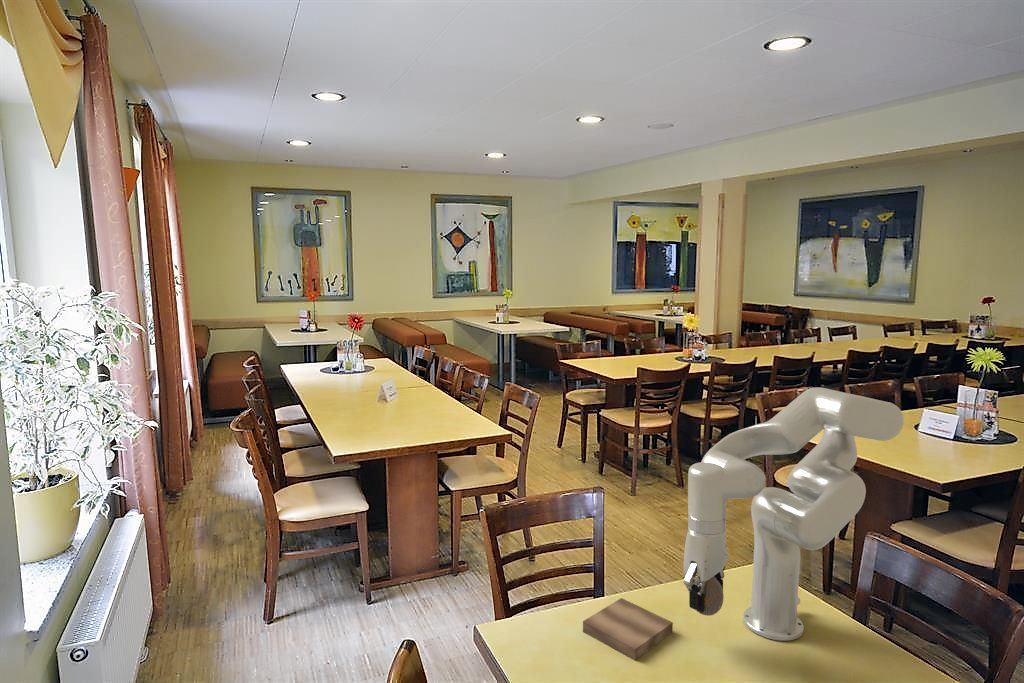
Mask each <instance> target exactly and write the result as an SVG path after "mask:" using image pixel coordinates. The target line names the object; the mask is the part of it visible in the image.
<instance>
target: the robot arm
mask: <svg viewBox="0 0 1024 683" xmlns="http://www.w3.org/2000/svg"><path fill="white" fill-rule="evenodd" d="M904 423H905V420H904V415H903V412H902V410H901V408H900V407H898V406H897V405H896V404H894V403H893V402H888V401H884V400H879V399H875V398H871V397H866V396H862V395H857V394H852V393H848V392H843V391H838V390H834V389H830V388H827V387H826V388H825V387H819V386H818V387H817V386H816V387H810V388H808V389H806V390H804V391H803V392H802V393H800V395H798V396H797V397H796V398H794V399H793V400H792V401H791V402H790V403H789V404H787V405H786V406H785V407H784V408H783V409H781V410H780V411H779V412H778V413H777V414H775V415H774V416H773V417H771V418H770V419H768V420H767V421H766V422H762V423H757V424H754V425H751V426H748V427H745V428H742V429H739V430H736V431H734V432H731V433H729V434H727V435H726V436H724V437H723V438H721V439H720V441H718V442H717V443H716V444H714V445H713V446H712V447H711V448H710V449H709V450H708V451H707V452H706V453H705V454H704V456H703V457H702V459H701V462H696V463H694V464H692V465H690V467H689V469H688V471H687V472H688V474H687V528H688V531H687V534H686V537H685V544H684V552H683V553H684V555H683V574H684V579H683V585H685V587H686V588H687V591H688V593H689V598H688V599H689V607H690V609H693V610H694V611H696V610H697V611H699V612H704V603H705V594H703V589H704V585H705V581H707V580H709V579H710V578H712V577H713V576H714V577H715V578H716V579H717V580H718V581H719V583H720V584H721V587H722V590H723V591H724V578H725V573H724V571H725V569H726V566H727V565H726V564H727V560H728V557H729V554H728V553H727V537H726V536H727V535H726V532H727V526H726V525H727V524H726V523H727V520H726V519H727V518H726V517H727V500H737V499H738V500H740V499H741V500H742V499H744V500H745V499H751V498H752V501H751V506H750V509H751V511H750V512H751V521H752V526H753V535H754V538H753V540H754V541H753V542H754V543H753V545H754V546H753V562H752V565H753V566H752V583H751V603H750V604H751V605H750V607H748V608H747V609H745V611H744V612H743V617H742V619H743V622H744V625H745V626H746V627H747V628H748V629H749V630H750V631H752V632H753V633H755V634H757V636H760V637H763V638H766V639H770V640H775V641H783V642H785V641H786V642H787V641H793V640H796V639H799V638H800V637H801V636H803V634H804V626H805V625H804V624H803V623H804V622H803V621H802V620H801V618H800V617H798V616H797V615H798V606H799V604H801V598H800V597H799V580H800V567H801V550H800V547H801V548H802V549H806V550H807V551H808V550H809V551H817V550H820V549H822V548H824V547H825V546H826V545H827V544H829V543H830V542H831V541H832V540H833V539H834V538H836V536H837V534H839V532H841V531H842V530H843V529H844V528H845V527H846V525H847V524H848V523H850V522H851V520H852V519H853V518H854V517H855V516H856V514H858V512H859V511H860V510H861V508H862V506H863V504H864V503H865V498H866V492H867V490H866V484H865V482H864V480H863V479H862V478H861V477H860V475H858V474H857V473H855V472H853V471H851V470H852V468H853V467H854V466H855V464H857V463H856V462H857V459H858V449H857V448H858V447H857V445H856V440H855V437H858V438H862V439H869V440H876V441H883V442H884V441H890V440H893V439H894V438H896V437H897V436H898V435H899V434H900V433H901V432H902V430H903V427H904ZM821 432H823V433H822V437H821V439H820V441H819V442H817V444H816V445H815V447H813V448H812V449H811V450H810V451H809V452H808V454H805V456H804V457H803V458H802V459H801V460H800V461H799V462H798V463H797V464H796V465H795V466H794V467H793V468H792V470H791V471H790V472H789V474H788V476H787V478H786V479H787V486H788V488H789V490H790V491H787V490H786V489H783V488H780V487H774V486H773V487H772V486H771V487H770V486H769V487H765V486H766V480H767V478H766V476H765V473H764V471H763V470H762V469H761V468H760V467H759V466H758V465H756V464H754V463H752V462H750V461H748V460H746V459H749V458H751V457H758V456H765V455H767V456H769V455H770V456H775V455H776V456H777V455H790V454H794V453H797V452H799V451H800V450H801V449H802V448H803V447H804V446H806V445H807V444H808V443H809V442H810V441H811V440H812V439H814V438H815V437H816V436H817V435H818V434H820V433H821ZM696 575H697V576H698V575H699V577H700V578H698V577H697V576H696ZM695 580H697V581H699V582H700V584H699V588H698V587H697V586H696V585H695V584H694V583H695ZM697 611H696V612H697ZM699 612H698V613H699Z"/></svg>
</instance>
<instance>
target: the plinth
mask: <svg viewBox="0 0 1024 683" xmlns="http://www.w3.org/2000/svg"><path fill="white" fill-rule="evenodd" d="M673 624H674V622H673V621H671V620H668V619H667V618H665V617H662V616H660V615H658V614H656V613H654V612H653V611H650V610H648V609H646V608H643V607H642V606H639V605H637V604H635V603H634V602H631V601H629V600H627V599H625V598H623V597H621V598H619V599H617V600H616V601H614V602H613V603H611V604H609V605H607V606H606V607H604V608H602V609H601V610H599V611H597V612H596V613H593V614H592V615H591V616H589V617H587V618H585V620H583V621H582V632H583V633H584V634H586V635H588V636H590V637H592V638H594V639H595V640H596V641H599V642H601V643H602V644H604V645H607V646H608V647H610V648H612V649H614V650H615V651H618V653H621V654H622V655H625V656H626V657H628V658H629V659H631V660H633V661H636V660H638V659H639V658H640V657H641V656H643V655H644V654H646V653H647V652H648V651H650V650H651V649H653V648H654V647H655V646H656V645H658V644H660V643H661V642H662V641H663V640H665V639H666V638H667V637H669V636H671V634H673V631H674V630H673V627H674V626H673Z"/></svg>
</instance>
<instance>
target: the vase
mask: <svg viewBox="0 0 1024 683" xmlns="http://www.w3.org/2000/svg"><path fill="white" fill-rule="evenodd" d="M696 577H698V578H700V577H699V575H698V574H697V576H696ZM694 584H695V585H696V586H697V587H698V588H699V584H700V582H699V581H697V580H695V583H694ZM703 594H705V603H704V612H699V611H697V610H695V611H696V612H698V614H700V615H703V616H714V615H715V614H717V613H719V612H720V610H721V609H722V606H723V605H724V604H723V603H724V599H725V598H724V596H725V595H724V589H723V590H722V587H721V584H720V583H719V581H718V580H717V579H716V578H715V577H714V576H713V577H712V578H710V579H709V580H707V581H705V585H704V589H703Z"/></svg>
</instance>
